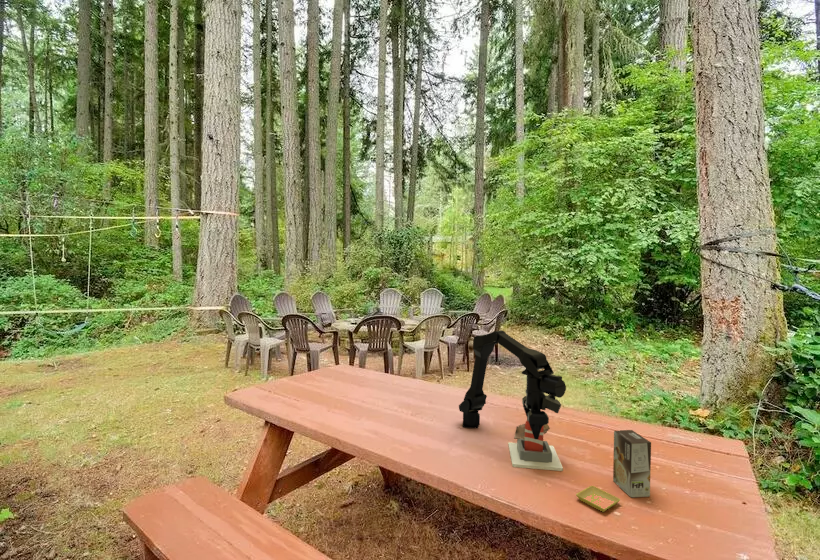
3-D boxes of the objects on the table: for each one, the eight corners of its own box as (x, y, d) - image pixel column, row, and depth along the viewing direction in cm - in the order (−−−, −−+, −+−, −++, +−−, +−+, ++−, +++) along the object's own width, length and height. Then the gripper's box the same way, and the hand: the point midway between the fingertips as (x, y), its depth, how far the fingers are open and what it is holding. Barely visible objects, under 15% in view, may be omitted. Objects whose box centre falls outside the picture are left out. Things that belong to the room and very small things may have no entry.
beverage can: (542, 451, 140) (544, 418, 139) (542, 459, 134) (543, 424, 133) (525, 448, 142) (526, 415, 141) (523, 456, 136) (524, 422, 135)
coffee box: (651, 496, 114) (652, 442, 114) (630, 498, 114) (632, 443, 113) (631, 479, 123) (632, 429, 123) (611, 480, 123) (612, 430, 122)
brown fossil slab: (528, 444, 148) (528, 441, 148) (502, 435, 156) (503, 432, 156) (559, 425, 166) (559, 423, 165) (535, 418, 173) (535, 415, 173)
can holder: (512, 466, 131) (512, 455, 131) (508, 445, 147) (508, 434, 146) (562, 471, 128) (563, 459, 128) (553, 448, 144) (553, 437, 144)
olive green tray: (591, 491, 118) (592, 484, 118) (621, 506, 111) (621, 498, 110) (575, 501, 113) (575, 494, 113) (604, 517, 106) (604, 509, 106)
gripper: (565, 399, 126) (564, 447, 127) (553, 382, 144) (552, 424, 145) (529, 397, 128) (528, 444, 128) (522, 380, 146) (521, 422, 147)
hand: (534, 433), depth 137 cm, fingers open, 9 cm apart
